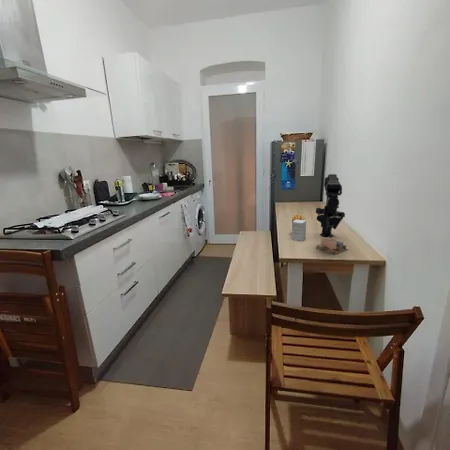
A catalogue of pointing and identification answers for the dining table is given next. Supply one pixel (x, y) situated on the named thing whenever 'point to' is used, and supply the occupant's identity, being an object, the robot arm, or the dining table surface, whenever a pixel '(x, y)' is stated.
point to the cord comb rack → (331, 251)
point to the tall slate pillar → (339, 244)
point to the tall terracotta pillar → (328, 243)
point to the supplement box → (298, 230)
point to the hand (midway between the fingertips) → (329, 230)
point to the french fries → (297, 217)
